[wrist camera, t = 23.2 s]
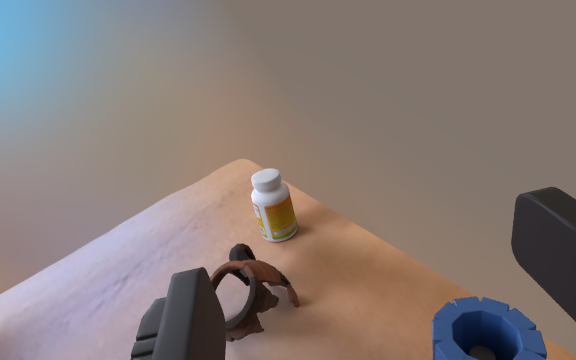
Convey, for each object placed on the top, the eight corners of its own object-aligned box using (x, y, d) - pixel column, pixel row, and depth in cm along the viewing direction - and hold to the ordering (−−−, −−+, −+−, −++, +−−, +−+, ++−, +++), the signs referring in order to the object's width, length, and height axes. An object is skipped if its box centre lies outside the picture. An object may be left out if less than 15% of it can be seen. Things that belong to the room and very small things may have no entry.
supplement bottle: (304, 223, 56) (291, 166, 51) (287, 246, 52) (271, 187, 48) (274, 218, 59) (259, 164, 54) (255, 239, 55) (238, 183, 50)
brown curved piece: (317, 325, 40) (275, 304, 35) (250, 371, 42) (199, 358, 36) (281, 243, 49) (242, 215, 43) (227, 283, 50) (182, 262, 45)
